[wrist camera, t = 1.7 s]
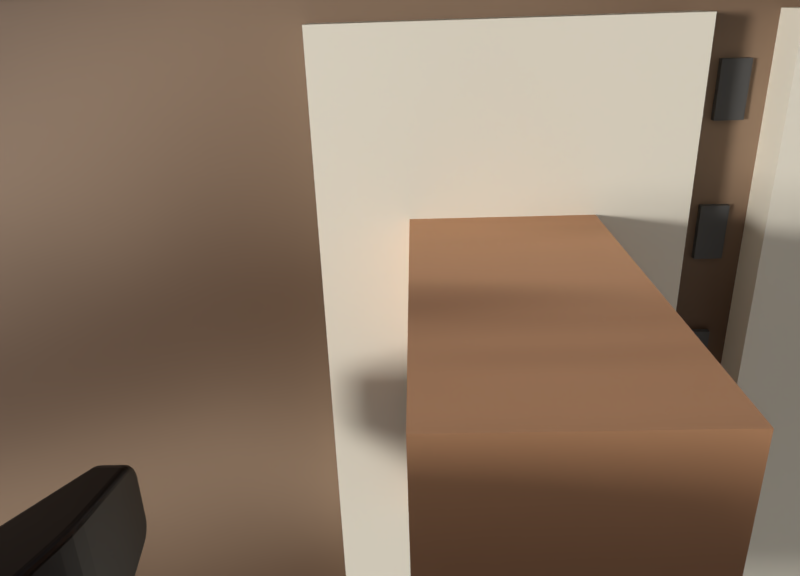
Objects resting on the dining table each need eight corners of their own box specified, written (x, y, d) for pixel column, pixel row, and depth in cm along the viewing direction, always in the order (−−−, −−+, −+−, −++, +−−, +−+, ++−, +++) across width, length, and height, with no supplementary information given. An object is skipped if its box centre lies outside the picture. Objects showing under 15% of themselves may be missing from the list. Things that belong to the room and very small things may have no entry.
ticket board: (1024, 602, 15) (1128, 704, 13) (7, 611, 15) (-57, 709, 13) (1358, -175, 9) (1637, -225, 7) (-236, -113, 10) (-413, -143, 8)
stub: (624, 595, 13) (767, 1004, 8) (352, 598, 13) (311, 1001, 8) (697, 10, 9) (1094, 29, 4) (309, 23, 9) (167, 59, 4)
